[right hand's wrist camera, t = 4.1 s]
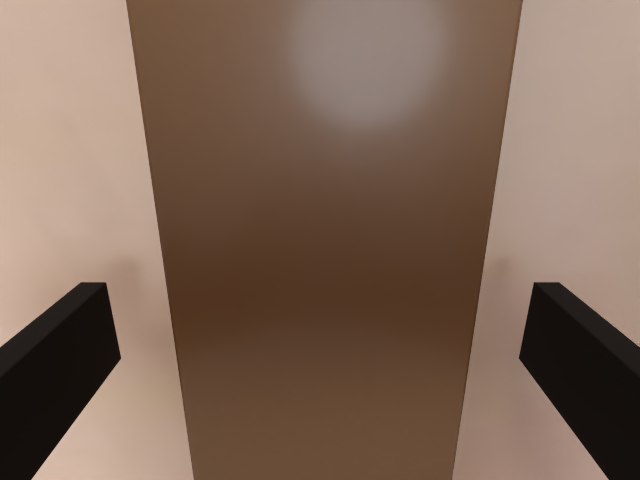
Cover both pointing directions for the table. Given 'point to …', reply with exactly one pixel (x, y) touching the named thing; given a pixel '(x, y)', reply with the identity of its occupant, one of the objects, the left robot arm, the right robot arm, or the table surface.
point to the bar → (323, 222)
